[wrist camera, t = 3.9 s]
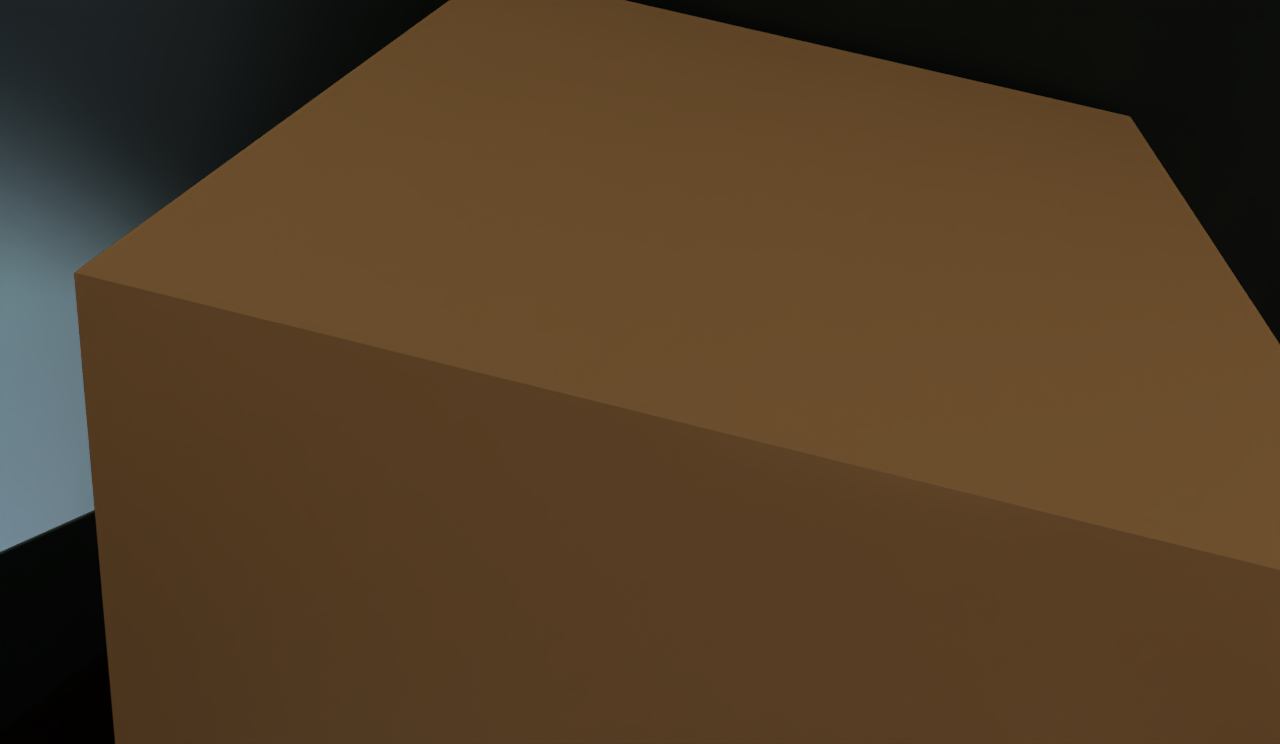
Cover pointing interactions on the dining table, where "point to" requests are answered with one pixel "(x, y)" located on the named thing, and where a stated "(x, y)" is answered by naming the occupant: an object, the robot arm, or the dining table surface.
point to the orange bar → (681, 411)
